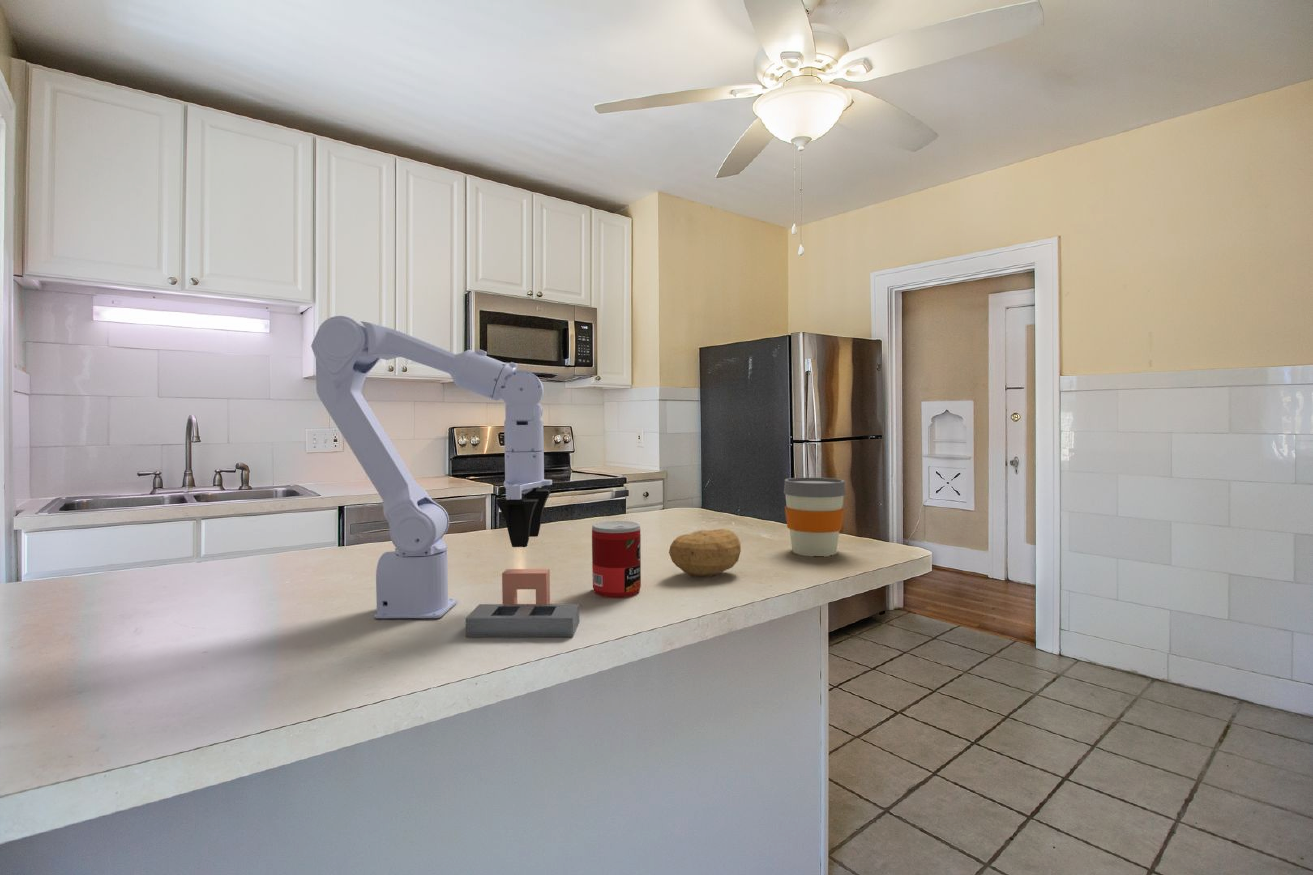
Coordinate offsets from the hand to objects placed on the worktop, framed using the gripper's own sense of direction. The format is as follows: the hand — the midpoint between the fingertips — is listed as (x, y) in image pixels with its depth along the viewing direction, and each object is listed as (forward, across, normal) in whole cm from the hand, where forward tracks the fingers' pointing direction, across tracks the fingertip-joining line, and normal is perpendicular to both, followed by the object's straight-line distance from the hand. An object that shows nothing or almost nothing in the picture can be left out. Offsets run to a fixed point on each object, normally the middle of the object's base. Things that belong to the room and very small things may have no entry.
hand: (525, 541), depth 94 cm
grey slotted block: (+10, -10, -2) cm, 14 cm away
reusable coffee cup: (+10, +37, -52) cm, 65 cm away
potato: (+10, +18, -28) cm, 35 cm away
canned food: (+10, +8, -13) cm, 18 cm away
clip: (+10, 0, 0) cm, 10 cm away
